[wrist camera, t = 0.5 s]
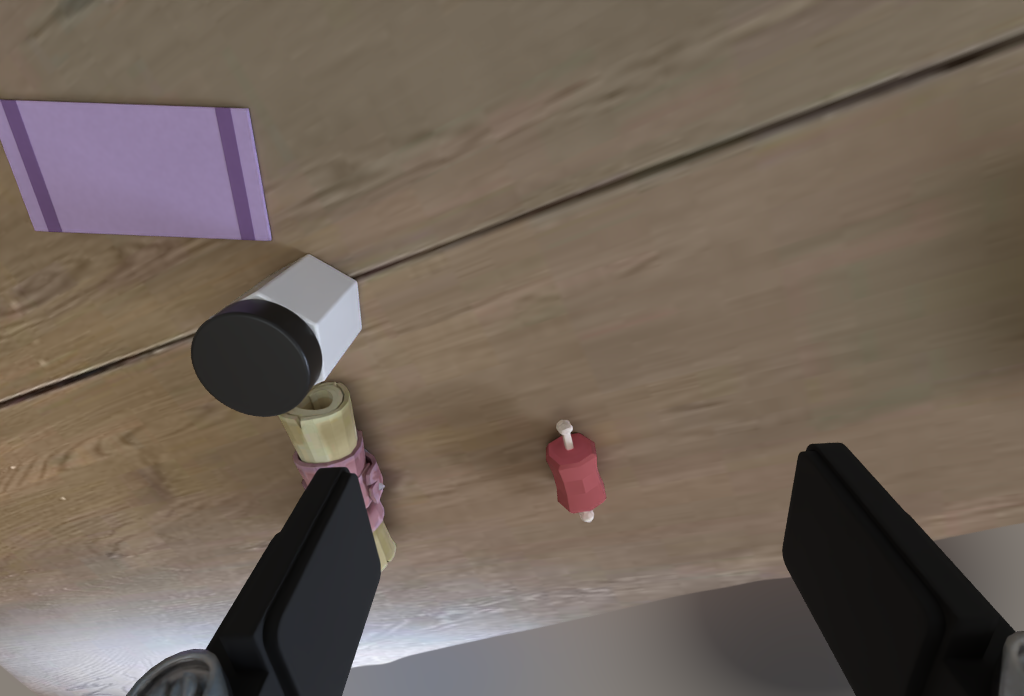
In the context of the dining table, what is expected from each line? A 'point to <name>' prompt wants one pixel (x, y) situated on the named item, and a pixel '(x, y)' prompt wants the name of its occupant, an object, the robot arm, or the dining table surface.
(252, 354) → the jar
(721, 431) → the dining table surface
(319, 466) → the scroll
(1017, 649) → the robot arm
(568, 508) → the meat
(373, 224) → the dining table surface
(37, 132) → the cloth
